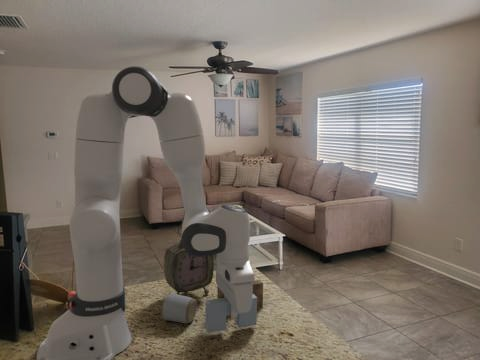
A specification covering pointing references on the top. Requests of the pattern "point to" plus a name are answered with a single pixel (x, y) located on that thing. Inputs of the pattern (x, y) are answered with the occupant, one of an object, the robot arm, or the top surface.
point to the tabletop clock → (187, 269)
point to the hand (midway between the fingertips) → (231, 313)
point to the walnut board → (257, 292)
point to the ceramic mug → (179, 308)
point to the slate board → (227, 314)
